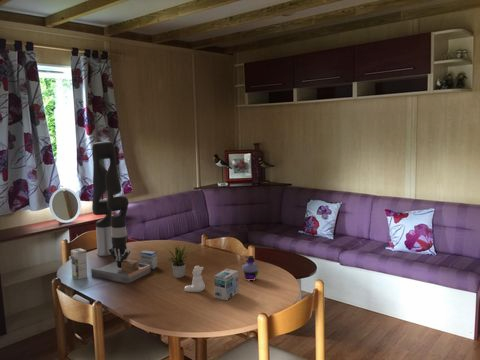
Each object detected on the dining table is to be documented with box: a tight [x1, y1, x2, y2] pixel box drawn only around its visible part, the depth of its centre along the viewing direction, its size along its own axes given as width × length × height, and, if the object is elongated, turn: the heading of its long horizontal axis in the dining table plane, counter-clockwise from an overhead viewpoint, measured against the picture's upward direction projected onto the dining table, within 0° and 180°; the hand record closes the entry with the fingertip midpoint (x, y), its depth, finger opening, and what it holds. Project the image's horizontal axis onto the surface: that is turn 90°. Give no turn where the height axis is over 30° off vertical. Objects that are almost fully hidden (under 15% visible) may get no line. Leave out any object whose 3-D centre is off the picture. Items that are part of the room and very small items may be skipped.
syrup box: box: [70, 248, 88, 281], centre depth 222 cm, size 6×6×14 cm
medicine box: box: [139, 250, 158, 270], centre depth 238 cm, size 8×4×9 cm, turn 68°
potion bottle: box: [241, 255, 260, 279], centre depth 218 cm, size 9×9×12 cm
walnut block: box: [121, 259, 139, 273], centre depth 225 cm, size 5×7×5 cm
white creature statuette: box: [184, 265, 206, 293], centre depth 205 cm, size 10×9×12 cm
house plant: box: [166, 245, 194, 279], centre depth 223 cm, size 14×14×16 cm
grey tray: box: [90, 259, 152, 284], centre depth 228 cm, size 18×24×4 cm
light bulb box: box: [214, 268, 240, 301], centre depth 198 cm, size 11×7×11 cm, turn 148°
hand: (120, 267), depth 227 cm, fingers closed
